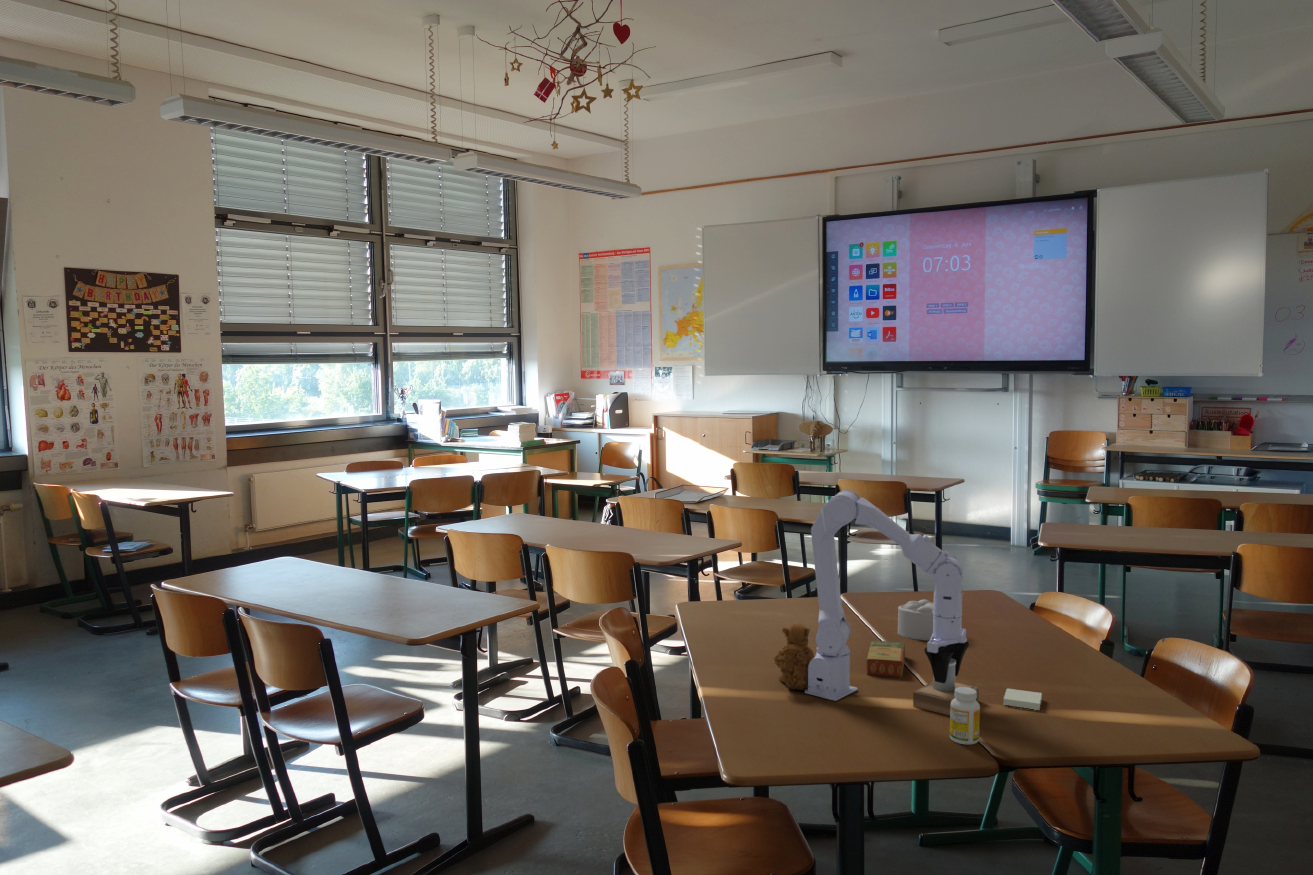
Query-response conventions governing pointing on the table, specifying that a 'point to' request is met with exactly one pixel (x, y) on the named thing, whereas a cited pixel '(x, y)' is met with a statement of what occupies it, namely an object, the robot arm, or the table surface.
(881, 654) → the carton
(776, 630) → the table surface
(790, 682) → the brown teddy bear
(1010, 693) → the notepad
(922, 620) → the lumpy-topped squat cylinder
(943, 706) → the box
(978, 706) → the supplement bottle
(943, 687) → the cup
